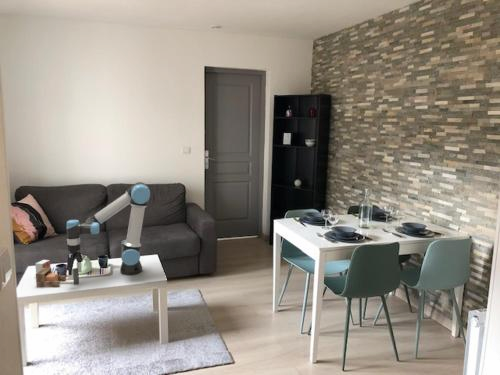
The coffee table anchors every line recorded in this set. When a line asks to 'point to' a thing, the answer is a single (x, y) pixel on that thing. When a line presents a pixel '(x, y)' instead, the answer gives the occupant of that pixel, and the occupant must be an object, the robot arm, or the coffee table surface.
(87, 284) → the coffee table surface
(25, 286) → the coffee table surface
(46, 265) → the small box
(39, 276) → the wooden toy block stack
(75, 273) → the tethered block
